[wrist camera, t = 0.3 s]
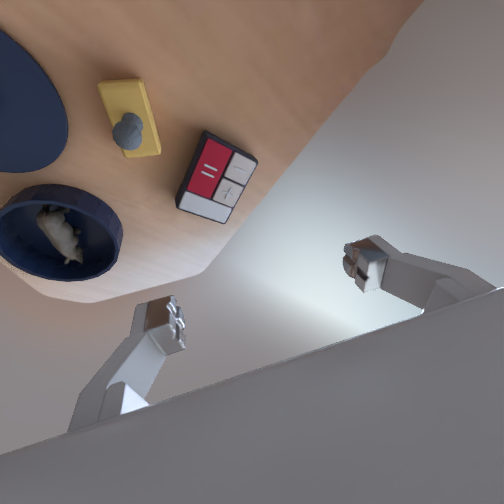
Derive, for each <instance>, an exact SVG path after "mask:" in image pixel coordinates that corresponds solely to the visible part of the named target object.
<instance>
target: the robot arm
mask: <svg viewBox="0 0 504 504" xmlns="http://www.w3.org/2000/svg"><path fill="white" fill-rule="evenodd" d="M344 252H345V253H346V255H345V256H344V258H343V266H344V270H345V271H346V273H347V274H348V275H349V276H350V277H352V278H354V279H355V283H356V285H357V286H358V287H359V288H360V289H361V290H362V291H363V293H364V292H368V291H371V290H375V289H378V288H381V289H382V290H384V291H386V292H388V293H391V294H392V295H395V296H397V297H399V298H401V299H403V300H405V301H407V302H409V303H411V304H413V305H415V306H417V307H419V308H421V309H423V311H422V314H420V315H417V316H414V317H411V318H408V319H405V320H402V321H399V322H397V323H393V324H390V325H388V326H385V327H381V328H378V329H376V330H372V331H370V332H366V333H363V334H361V335H358V336H355V337H352V338H349V339H346V340H343V341H340V342H337V343H334V344H331V345H328V346H325V347H322V348H319V349H316V350H313V351H310V352H307V353H304V354H301V355H298V356H295V357H292V358H289V359H286V360H283V361H280V362H277V363H274V364H271V365H268V366H265V367H262V368H259V369H256V370H253V371H250V372H247V373H244V374H241V375H238V376H235V377H232V378H229V379H226V380H223V381H220V382H217V383H214V384H211V385H208V386H205V387H202V388H199V389H196V390H193V391H190V392H187V393H184V394H181V395H179V396H175V397H172V398H169V399H166V400H163V401H161V402H157V403H154V404H151V405H149V404H148V403H147V402H146V401H145V400H144V399H145V397H146V395H147V393H148V391H149V389H150V387H151V385H152V383H153V381H154V379H155V377H156V375H157V373H158V372H159V370H160V368H161V366H162V364H163V362H164V360H165V358H166V356H167V355H170V354H173V353H176V352H179V351H182V350H184V349H185V335H184V333H183V329H184V328H185V320H184V315H183V312H182V310H181V308H180V307H179V306H176V299H175V297H174V296H173V295H170V296H167V297H163V298H159V299H155V300H152V301H149V302H145V303H141V304H138V305H137V306H136V308H135V312H134V317H133V322H132V326H131V331H130V336H129V337H127V338H125V339H124V341H123V342H122V343H121V344H120V345H119V347H118V348H117V349H116V350H115V352H114V353H113V354H112V355H111V356H110V358H109V359H108V360H107V361H106V362H105V364H104V365H103V366H102V367H101V368H100V370H99V371H98V372H97V373H96V375H95V376H94V377H93V378H92V380H91V381H90V382H89V383H88V384H87V385H86V387H85V388H84V389H83V390H82V392H81V393H80V394H79V397H78V400H77V404H76V406H75V409H74V413H73V416H72V419H71V422H70V425H69V428H68V431H67V433H65V434H61V435H58V436H55V437H52V438H50V439H46V440H44V441H41V442H38V443H35V444H32V445H29V446H26V447H23V448H20V449H17V450H14V451H11V452H8V453H5V454H2V455H0V504H504V287H501V288H496V287H494V286H493V285H491V284H490V283H488V282H487V281H485V280H483V279H482V278H480V277H479V276H478V275H476V274H474V273H473V272H471V271H470V270H468V269H465V268H461V267H457V266H454V265H450V264H446V263H442V262H439V261H435V260H431V259H427V258H424V257H420V256H416V255H412V254H409V253H401V252H399V251H398V250H397V249H396V248H394V247H393V246H392V245H390V244H389V243H388V242H386V241H385V240H384V239H382V238H381V237H380V236H378V235H373V236H370V237H367V238H364V239H361V240H357V241H354V242H351V243H347V244H345V246H344Z"/></svg>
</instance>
